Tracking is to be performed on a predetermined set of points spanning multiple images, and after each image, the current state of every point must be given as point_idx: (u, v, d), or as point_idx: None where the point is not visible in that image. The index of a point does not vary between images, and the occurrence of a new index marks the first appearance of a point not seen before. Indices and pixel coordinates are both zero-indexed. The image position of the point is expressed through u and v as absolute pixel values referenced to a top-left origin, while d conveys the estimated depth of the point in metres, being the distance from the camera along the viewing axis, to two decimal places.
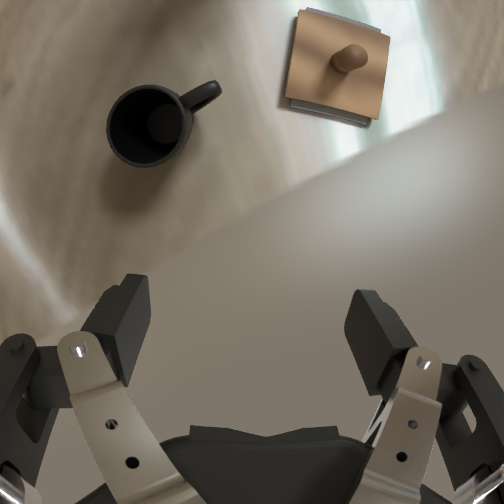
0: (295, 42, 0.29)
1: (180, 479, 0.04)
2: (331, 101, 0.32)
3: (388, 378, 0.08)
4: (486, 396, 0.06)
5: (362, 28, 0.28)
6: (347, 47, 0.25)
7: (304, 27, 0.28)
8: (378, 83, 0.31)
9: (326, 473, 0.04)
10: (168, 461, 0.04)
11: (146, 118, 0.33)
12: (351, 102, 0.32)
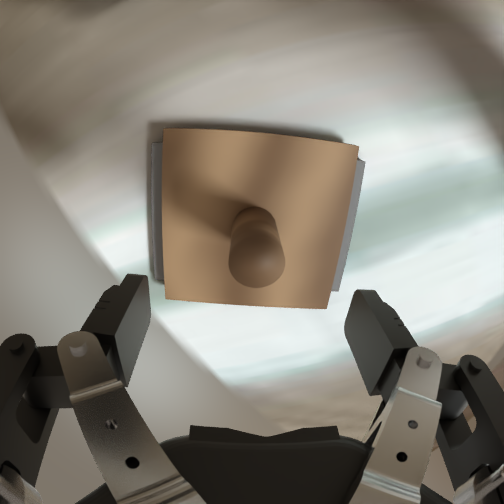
0: (282, 137, 0.17)
1: (180, 479, 0.04)
2: (171, 215, 0.19)
3: (388, 378, 0.08)
4: (486, 396, 0.06)
5: (333, 262, 0.21)
6: (272, 244, 0.15)
7: (319, 155, 0.18)
8: (230, 295, 0.22)
9: (326, 473, 0.04)
10: (168, 461, 0.04)
11: None
12: (180, 251, 0.20)
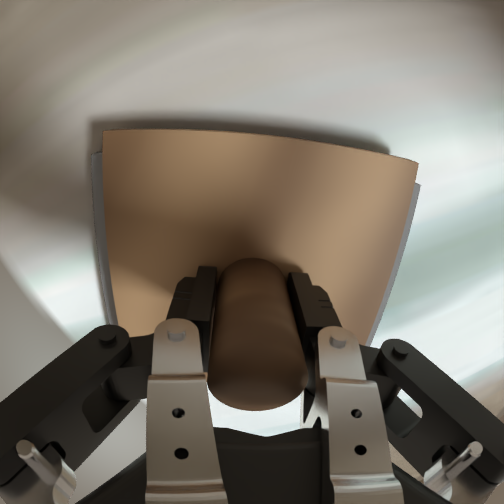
0: (301, 143, 0.10)
1: (219, 483, 0.04)
2: (123, 268, 0.12)
3: (306, 357, 0.09)
4: (424, 381, 0.07)
5: (366, 330, 0.14)
6: (287, 356, 0.08)
7: (359, 175, 0.11)
8: None
9: (326, 473, 0.04)
10: (217, 463, 0.04)
11: None
12: (141, 318, 0.13)
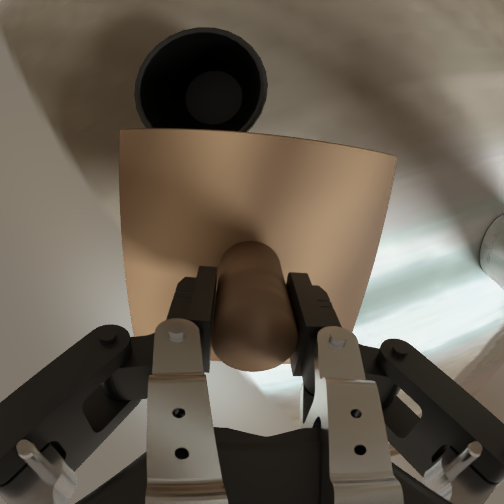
0: (292, 141, 0.12)
1: (219, 483, 0.04)
2: (136, 251, 0.14)
3: (306, 357, 0.09)
4: (423, 381, 0.07)
5: (354, 310, 0.15)
6: (280, 316, 0.09)
7: (343, 168, 0.12)
8: None
9: (326, 473, 0.04)
10: (217, 463, 0.04)
11: (223, 70, 0.23)
12: (150, 298, 0.15)
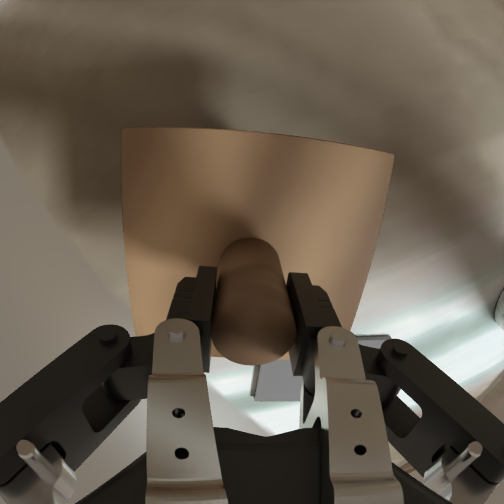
0: (291, 139, 0.12)
1: (219, 483, 0.04)
2: (137, 248, 0.14)
3: (306, 357, 0.09)
4: (423, 380, 0.07)
5: (353, 306, 0.16)
6: (278, 310, 0.09)
7: (341, 165, 0.12)
8: None
9: (326, 473, 0.04)
10: (217, 463, 0.04)
11: None
12: (151, 294, 0.15)
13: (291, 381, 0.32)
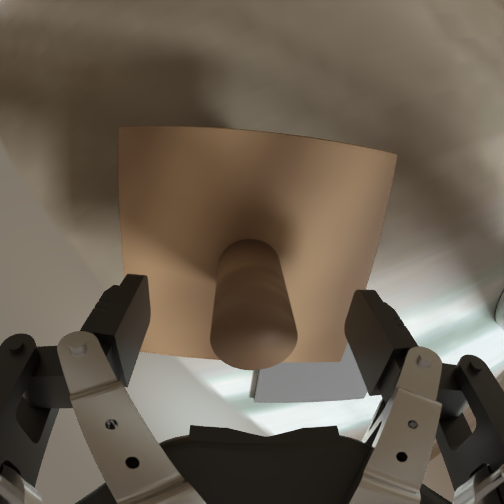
0: (292, 138, 0.12)
1: (180, 479, 0.04)
2: (135, 249, 0.13)
3: (388, 378, 0.08)
4: (486, 396, 0.06)
5: None
6: (279, 314, 0.09)
7: (343, 165, 0.12)
8: None
9: (326, 473, 0.04)
10: (168, 461, 0.04)
11: None
12: None
13: (291, 382, 0.32)
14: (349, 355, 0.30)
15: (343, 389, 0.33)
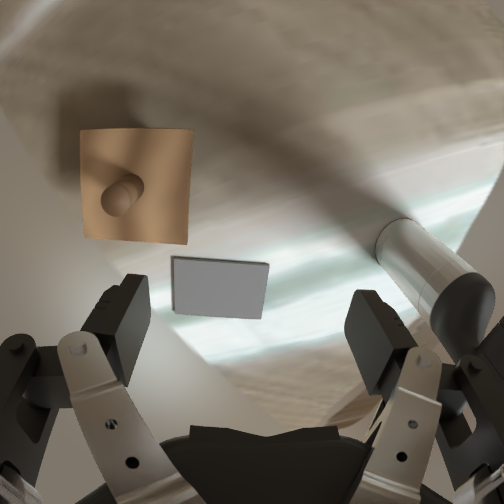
0: (143, 129, 0.27)
1: (180, 479, 0.04)
2: (85, 181, 0.28)
3: (388, 378, 0.08)
4: (486, 396, 0.06)
5: (185, 209, 0.30)
6: (121, 190, 0.24)
7: (166, 138, 0.27)
8: (121, 233, 0.31)
9: (326, 473, 0.04)
10: (168, 461, 0.04)
11: None
12: (91, 204, 0.29)
13: (198, 296, 0.47)
14: (236, 275, 0.46)
15: (240, 307, 0.48)
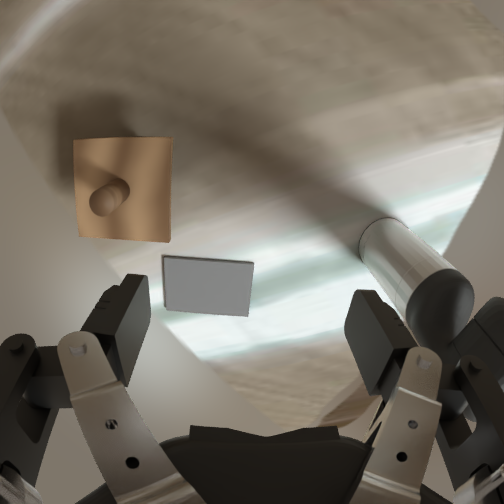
0: (128, 138, 0.29)
1: (180, 479, 0.04)
2: (79, 186, 0.31)
3: (388, 378, 0.08)
4: (486, 396, 0.06)
5: (166, 210, 0.33)
6: (106, 192, 0.27)
7: (148, 146, 0.30)
8: (111, 232, 0.34)
9: (326, 473, 0.04)
10: (168, 461, 0.04)
11: None
12: (84, 206, 0.32)
13: (187, 293, 0.49)
14: (223, 273, 0.48)
15: (227, 304, 0.50)
